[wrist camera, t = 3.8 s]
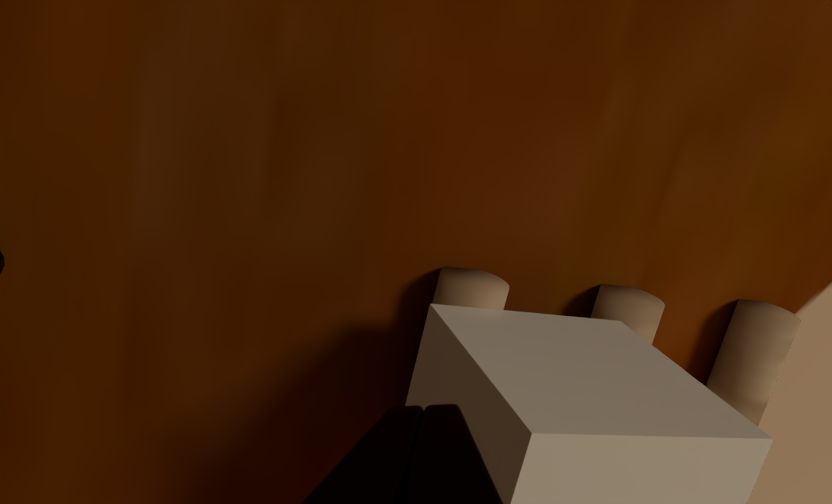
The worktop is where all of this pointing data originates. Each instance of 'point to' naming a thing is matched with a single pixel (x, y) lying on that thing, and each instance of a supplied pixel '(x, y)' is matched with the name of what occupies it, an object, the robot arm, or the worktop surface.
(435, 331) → the slab
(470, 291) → the roller
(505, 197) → the worktop surface
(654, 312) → the cylinder
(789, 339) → the roller
